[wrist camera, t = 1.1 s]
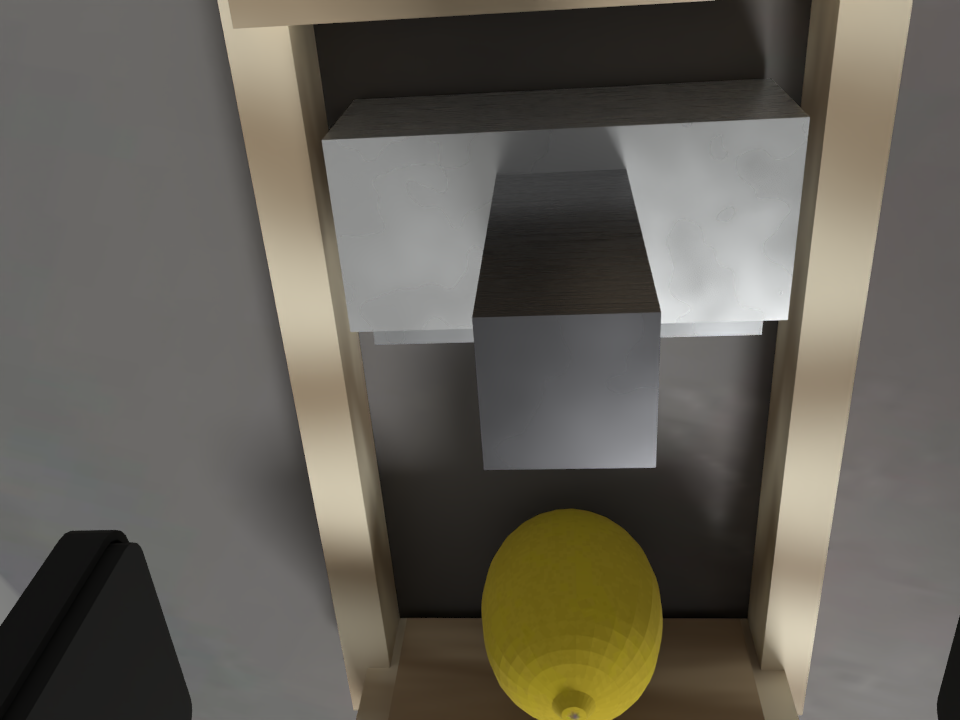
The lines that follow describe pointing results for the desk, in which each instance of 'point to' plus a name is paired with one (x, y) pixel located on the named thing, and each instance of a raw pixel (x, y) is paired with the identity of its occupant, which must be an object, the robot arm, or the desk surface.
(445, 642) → the press frame
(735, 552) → the desk surface
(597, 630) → the lemon
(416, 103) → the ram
